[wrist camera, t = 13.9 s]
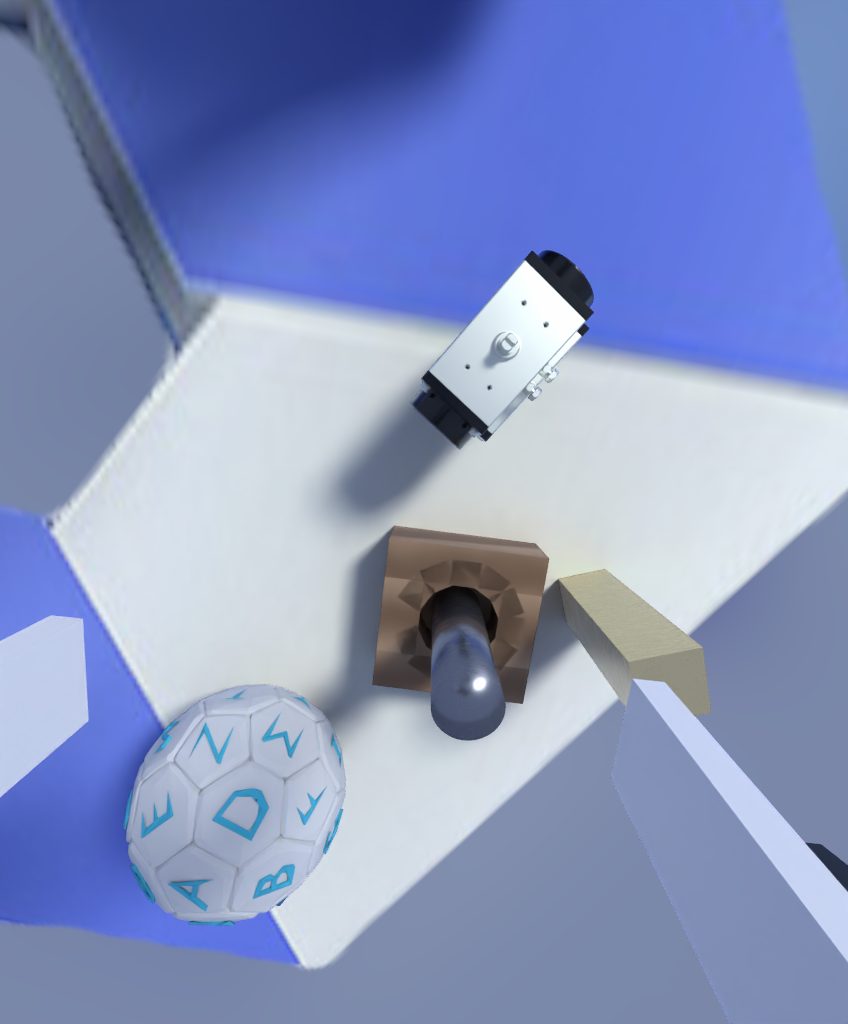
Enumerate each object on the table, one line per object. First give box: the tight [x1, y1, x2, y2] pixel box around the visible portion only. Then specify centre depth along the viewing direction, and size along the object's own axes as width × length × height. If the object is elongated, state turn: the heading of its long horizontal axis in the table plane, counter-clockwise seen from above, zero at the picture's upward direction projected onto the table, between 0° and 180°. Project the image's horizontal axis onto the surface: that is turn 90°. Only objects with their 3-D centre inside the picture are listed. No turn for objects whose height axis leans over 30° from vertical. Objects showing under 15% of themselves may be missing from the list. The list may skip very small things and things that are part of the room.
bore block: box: [372, 526, 549, 704], centre depth 37 cm, size 12×12×4 cm
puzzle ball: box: [123, 684, 346, 926], centre depth 34 cm, size 15×15×15 cm
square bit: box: [558, 569, 711, 716], centre depth 32 cm, size 4×4×14 cm
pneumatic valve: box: [410, 250, 594, 449], centre depth 29 cm, size 6×12×12 cm, turn 138°
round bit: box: [431, 585, 506, 740], centre depth 31 cm, size 4×4×14 cm
